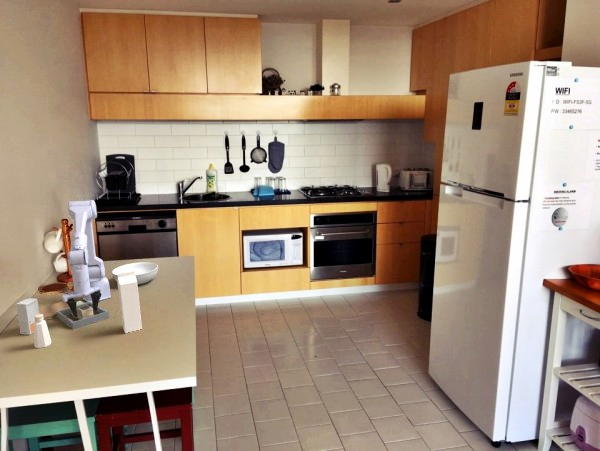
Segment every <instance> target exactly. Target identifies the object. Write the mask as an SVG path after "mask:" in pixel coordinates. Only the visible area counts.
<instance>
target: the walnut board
mask: <svg viewBox="0 0 600 451" xmlns="http://www.w3.org/2000/svg"><path fill="white" fill-rule="evenodd" d="M66 308H70V307H69V306H68V304H67V303H66V302H64V301H63V300H62V301H60V302H56V303H53V304H52V303H51V304H49V305H45V306H42V307H39V314H43V318H44V319H43V320H45V321H47V320H50V319H51V320H52V319H54V318H57V315H56V311H59V310H63V309H66Z"/></svg>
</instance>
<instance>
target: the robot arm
mask: <svg viewBox="0 0 600 451" xmlns="http://www.w3.org/2000/svg"><path fill="white" fill-rule="evenodd" d="M67 212H68V214H69V216H70V218H71V219H73V221H74V222H73V227H74V233H73V234H72V235H71V237H70V248H69V249H70V251H68V253H67V262H68V265H69V269H70V271H71V276H72V277H71V278H73V285H74V292H71V293H65V294H64V295H62V302H63V301H64V302H66V303H67V304H68V306H69V307H70V309H71V311H72V313H73V316H72V317H74V318H75V317H77V309H76V303H77V302H78V301H76V300H75V299H78V298H81V297H83V298H82V300H84V301H85V302H86V303H87V302H92V304H93V312H96V311H97V308H98V306H99V303H100V301H104V300H107V299H110V298H112V296H111V289H110V282H109V279H108V278H107V277H106V269H105V265H104V261H103V259H101V258H99V257H98V256H97V255H96V247H95V238H94V229H93V228H94V227H93V221H94V219H97V218H98V213H97V205H96V202H95V200H94V199H91V200H77V201H76V200H75V201H72V200H71V201H69V202H68V204H67Z"/></svg>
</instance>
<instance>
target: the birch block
mask: <svg viewBox="0 0 600 451" xmlns="http://www.w3.org/2000/svg"><path fill="white" fill-rule="evenodd" d="M77 309H78V317H79V318H78V320H81V319H84V318H87V317H91V316H94V310H93V308H92V307H90V306H88V305H87V306H83V307H80V308H77Z"/></svg>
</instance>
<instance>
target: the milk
mask: <svg viewBox="0 0 600 451" xmlns="http://www.w3.org/2000/svg"><path fill="white" fill-rule="evenodd" d="M116 282H117V283H116V284H117V288H118V289H117V292H118V299H119V308H120V315H121V324H122V325H121V326H122V328H123V329H122V330H123V332H124V333H125V334H129V333H128V332H130V333H133V332H132V331H135V332H137V331H136V330H139V331H141V330H140V329H142V330H143V324H142V323H143V322H142V317H141V316H142V315H141V307H140V305H141V304H140V295H139V289H138V285H137V280H136V276H135V272H134V271H132V272H126V273H120V274H118V279H117V281H116Z"/></svg>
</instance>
